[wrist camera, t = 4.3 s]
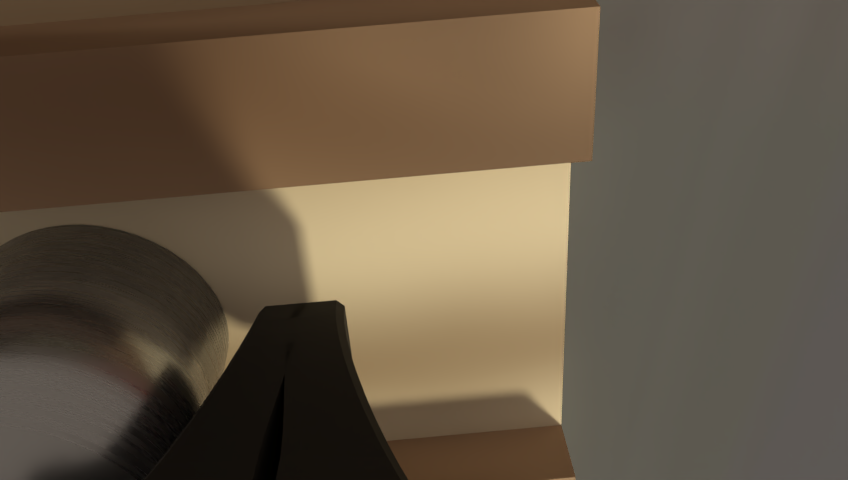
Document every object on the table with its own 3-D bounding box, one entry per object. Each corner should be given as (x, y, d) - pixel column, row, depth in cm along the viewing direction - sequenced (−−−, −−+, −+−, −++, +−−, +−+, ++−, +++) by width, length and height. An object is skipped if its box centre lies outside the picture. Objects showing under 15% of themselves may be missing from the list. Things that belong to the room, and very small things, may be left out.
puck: (248, 411, 14) (210, 630, 11) (16, 430, 14) (-96, 656, 11) (201, 214, 12) (133, 412, 9) (-75, 235, 12) (-250, 442, 8)
